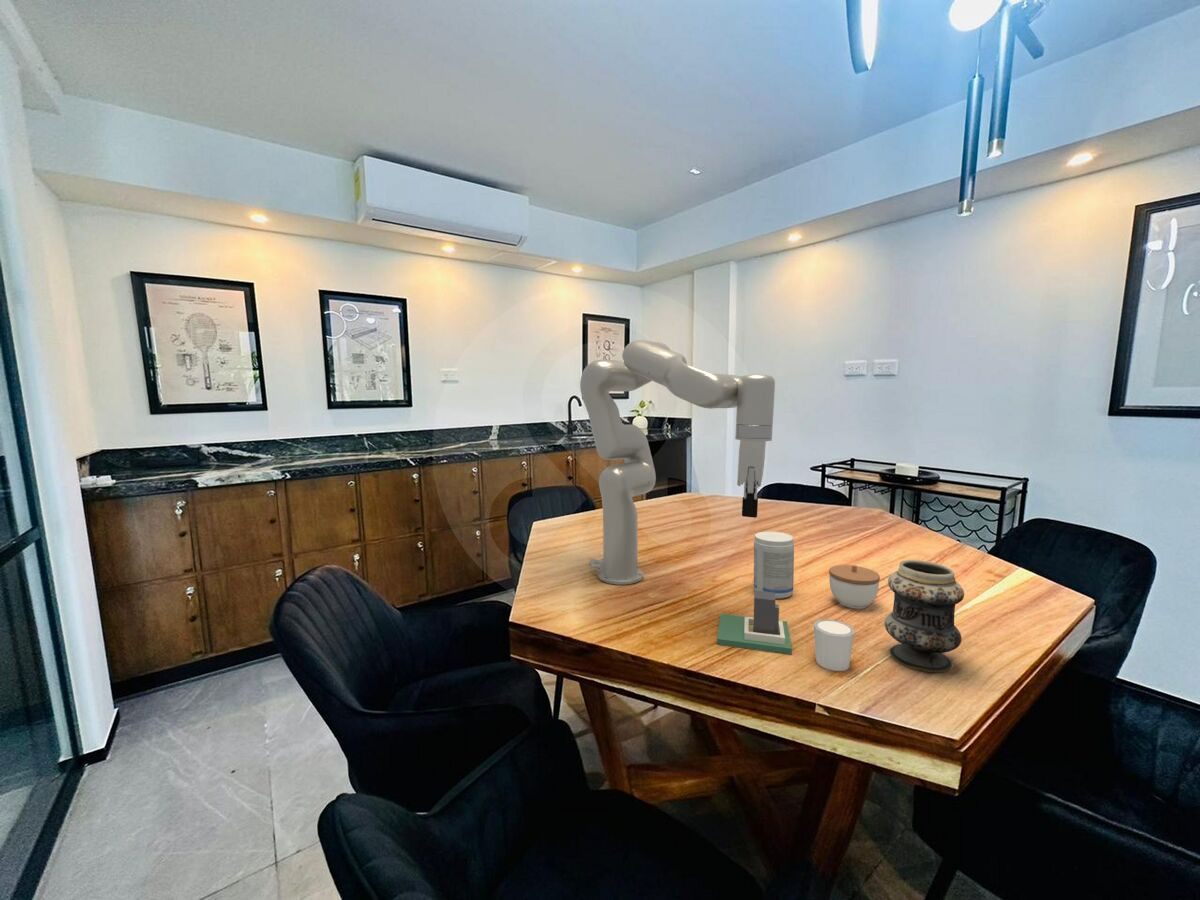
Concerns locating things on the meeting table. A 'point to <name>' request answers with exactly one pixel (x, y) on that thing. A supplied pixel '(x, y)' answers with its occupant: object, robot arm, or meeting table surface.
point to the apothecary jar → (924, 615)
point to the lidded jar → (854, 585)
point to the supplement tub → (774, 563)
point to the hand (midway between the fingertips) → (749, 516)
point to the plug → (765, 613)
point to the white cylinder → (833, 644)
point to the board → (752, 635)
